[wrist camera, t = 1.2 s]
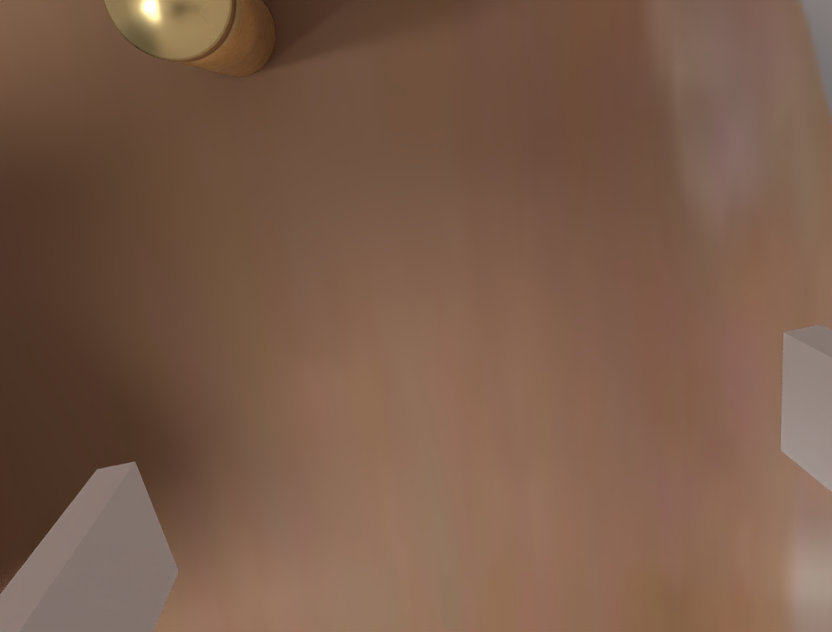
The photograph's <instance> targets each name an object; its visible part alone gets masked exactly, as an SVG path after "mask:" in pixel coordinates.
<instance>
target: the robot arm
mask: <svg viewBox="0 0 832 632" xmlns="http://www.w3.org/2000/svg"><path fill="white" fill-rule="evenodd" d="M781 451H782V452H784V453H785V454H786V455H787V456H788V457H790V458H791V459H792V460H793V461H794V462H796V463H797V464H798V465H799V466H801V467H802V468H803V469H804V470H805V471H807V472H808V473H809V474H810V475H812V476H813V477H814V478H815V479H816V480H818V481H819V482H820V483H821V484H823V485H824V486H825V487H826V488H827V489H829V490H830V491H831V492H832V330H831V329H829V328H827V327H825V326H823V325H817V326H812V327H807V328H802V329H797V330H792V331H787V332H783V375H782V423H781ZM178 572H179V571H178V568H177V566H176V563H175V561H174V558H173V556H172V553H171V551H170V548H169V546H168V543H167V541H166V538H165V536H164V533H163V531H162V528H161V525H160V523H159V520H158V518H157V515H156V513H155V510H154V508H153V505H152V503H151V500H150V498H149V495H148V493H147V490H146V488H145V485H144V482H143V480H142V477H141V475H140V472H139V470H138V467H137V465H136V462H130V463H125V464H120V465H115V466H110V467H105V468H100V469H97V470H96V471H95V473H94V474H93V475H92V476H91V478H90V479H89V480H88V482H87V483H86V484H85V485H84V487H83V488H82V489H81V491H80V492H79V493H78V494H77V496H76V497H75V498H74V500H73V501H72V502H71V504H70V505H69V506H68V507H67V509H66V510H65V511H64V513H63V514H62V515H61V516H60V518H59V519H58V520H57V522H56V523H55V524H54V525H53V527H52V528H51V529H50V531H49V532H48V533H47V535H46V536H45V537H44V538H43V540H42V541H41V542H40V544H39V545H38V546H37V547H36V549H35V550H34V551H33V553H32V554H31V555H30V556H29V558H28V559H27V560H26V562H25V563H24V564H23V566H22V567H21V568H20V569H19V571H18V572H17V573H16V575H15V576H14V577H13V578H12V580H11V581H10V582H9V584H8V585H7V586H6V587H5V589H4V590H3V591H2V593H1V594H0V632H153V631H154V629H155V626H156V624H157V622H158V619H159V617H160V614H161V612H162V610H163V607H164V605H165V603H166V600H167V598H168V595H169V593H170V591H171V588H172V586H173V584H174V581H175V579H176V577H177V574H178Z"/></svg>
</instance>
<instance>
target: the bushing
mask: <svg viewBox="0 0 832 632" xmlns="http://www.w3.org/2000/svg"><path fill="white" fill-rule="evenodd" d="M104 2H105V6H106V8H107V11H108V13H109V15H110V17H111V19H112V21H113V23H114V24H115V26H116V27H117V29H118V30H119V31H120V32H121V34H122V35H123V36H124V37H125V38H126V39H127V40H128V41H129V42H130V43H131V44H133V45H134V46H135V47H137V48H138V49H140V50H141V51H143V52H145V53H147V54H149V55H151V56H154V57H157V58H160V59H164V60H168V61H173V62H181V63H185V64H188V65H192V66H196V67H199V68H203V69H207V70H210V71H214V72H218V73H221V74H225V75H229V76H247V75H250V74H253V73H255V72H257V71H258V70H260V69H261V68H262V67H263V66H264V65H265V64H266V63H267V62H268V60H269V59H270V57H271V55H272V53H273V50H274V47H275V42H276V29H275V24H274V20H273V17H272V15H271V13H270V11H269V9H268V8H267V6H266V5H265V3H264V2H263V1H262V0H104Z"/></svg>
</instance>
